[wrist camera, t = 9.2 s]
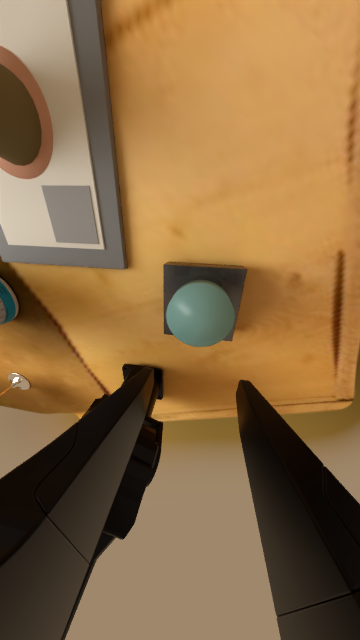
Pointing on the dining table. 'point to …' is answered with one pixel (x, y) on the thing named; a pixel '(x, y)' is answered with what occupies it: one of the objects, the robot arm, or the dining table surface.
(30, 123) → the brown tapered upright piece
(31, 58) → the drawing board
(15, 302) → the beverage bottle
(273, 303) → the dining table surface
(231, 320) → the button
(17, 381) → the wineglass
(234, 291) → the button housing
